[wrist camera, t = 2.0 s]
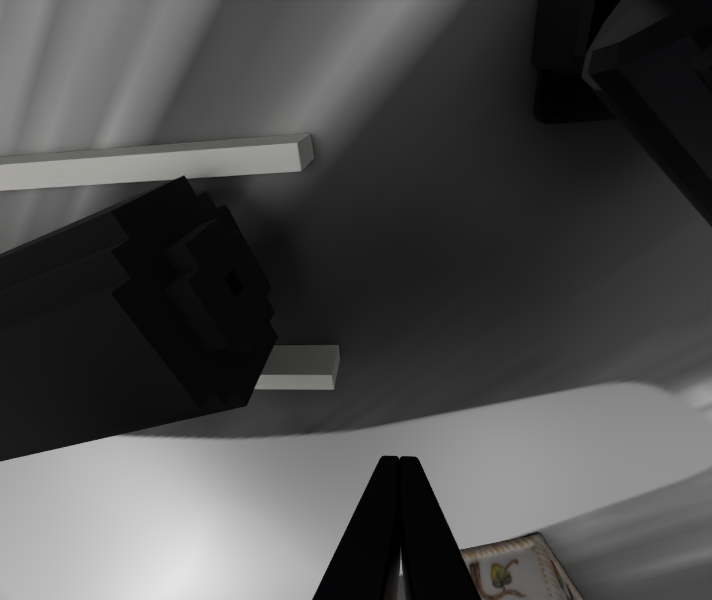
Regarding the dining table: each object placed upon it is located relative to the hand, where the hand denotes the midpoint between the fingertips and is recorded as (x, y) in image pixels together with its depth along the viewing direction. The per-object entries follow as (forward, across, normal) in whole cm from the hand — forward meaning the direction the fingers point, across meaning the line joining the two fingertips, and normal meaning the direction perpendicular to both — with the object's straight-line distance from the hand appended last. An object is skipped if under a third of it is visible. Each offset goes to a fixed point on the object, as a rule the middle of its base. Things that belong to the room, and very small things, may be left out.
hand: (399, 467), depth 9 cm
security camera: (+12, +14, 0) cm, 18 cm away
